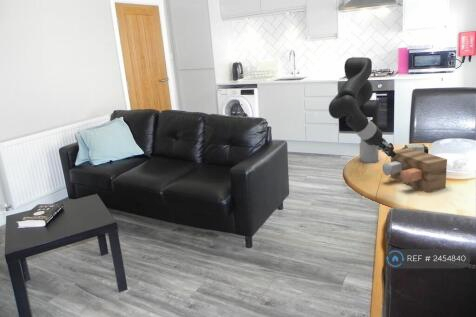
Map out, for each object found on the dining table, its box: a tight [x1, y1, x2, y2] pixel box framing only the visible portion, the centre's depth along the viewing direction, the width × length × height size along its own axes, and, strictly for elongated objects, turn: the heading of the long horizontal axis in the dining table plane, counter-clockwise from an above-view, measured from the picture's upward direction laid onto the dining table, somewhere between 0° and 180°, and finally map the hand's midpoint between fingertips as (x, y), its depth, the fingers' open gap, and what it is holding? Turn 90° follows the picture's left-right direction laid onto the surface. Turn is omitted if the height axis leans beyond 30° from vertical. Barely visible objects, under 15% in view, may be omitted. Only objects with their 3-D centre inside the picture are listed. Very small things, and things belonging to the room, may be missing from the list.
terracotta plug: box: [401, 168, 423, 184], centre depth 175 cm, size 6×11×6 cm, turn 110°
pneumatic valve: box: [401, 143, 429, 154], centre depth 204 cm, size 6×12×12 cm, turn 79°
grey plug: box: [382, 161, 403, 176], centre depth 186 cm, size 6×11×6 cm, turn 110°
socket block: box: [390, 147, 448, 193], centre depth 183 cm, size 23×10×13 cm, turn 20°
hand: (392, 155), depth 168 cm, fingers closed
